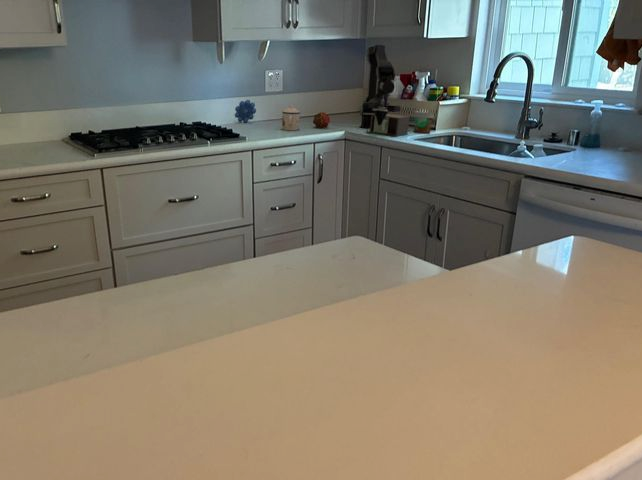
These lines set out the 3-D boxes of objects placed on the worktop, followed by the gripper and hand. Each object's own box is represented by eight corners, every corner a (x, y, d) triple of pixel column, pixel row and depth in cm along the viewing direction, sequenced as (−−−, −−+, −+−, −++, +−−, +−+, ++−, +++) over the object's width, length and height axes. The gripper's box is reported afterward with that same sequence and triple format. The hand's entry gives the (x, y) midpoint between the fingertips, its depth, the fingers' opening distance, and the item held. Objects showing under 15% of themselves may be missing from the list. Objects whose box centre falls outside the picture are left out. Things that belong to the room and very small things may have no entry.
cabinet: (366, 132, 311) (368, 114, 307) (380, 130, 319) (382, 113, 315) (394, 136, 300) (396, 118, 297) (407, 134, 309) (409, 116, 305)
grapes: (256, 122, 336) (257, 99, 332) (255, 123, 330) (255, 100, 325) (235, 121, 337) (235, 98, 333) (233, 122, 331) (234, 99, 326)
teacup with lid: (282, 127, 319) (283, 104, 314) (299, 128, 318) (300, 105, 314) (280, 131, 308) (281, 106, 303) (298, 131, 307) (299, 107, 303)
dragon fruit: (318, 132, 318) (320, 132, 330) (332, 122, 316) (333, 123, 327) (309, 117, 317) (311, 118, 329) (323, 108, 315) (325, 109, 326)
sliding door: (370, 132, 307) (371, 116, 304) (374, 131, 310) (375, 115, 307) (383, 134, 302) (385, 117, 299) (387, 133, 305) (389, 117, 302)
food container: (406, 131, 320) (408, 111, 316) (416, 130, 322) (418, 110, 318) (421, 134, 310) (424, 114, 306) (431, 134, 312) (434, 113, 308)
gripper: (357, 91, 298) (354, 124, 304) (389, 94, 286) (386, 128, 292) (370, 90, 305) (367, 122, 311) (402, 93, 293) (398, 126, 299)
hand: (379, 125), depth 303 cm, fingers closed
